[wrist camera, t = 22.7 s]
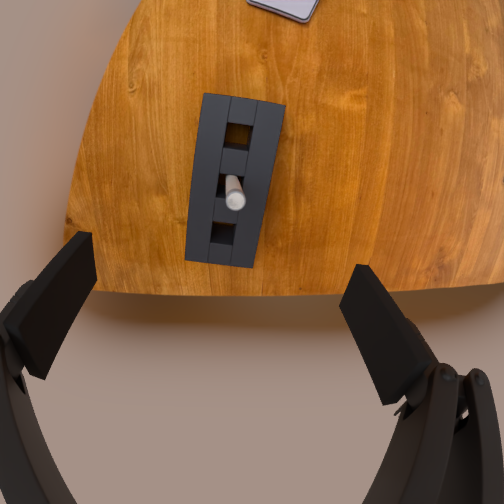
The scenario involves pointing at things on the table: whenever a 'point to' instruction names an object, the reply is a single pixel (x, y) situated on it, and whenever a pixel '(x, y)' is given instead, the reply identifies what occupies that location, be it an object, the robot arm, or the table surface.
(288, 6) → the smartphone
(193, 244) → the pen stand
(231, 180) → the stylus
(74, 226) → the table surface
